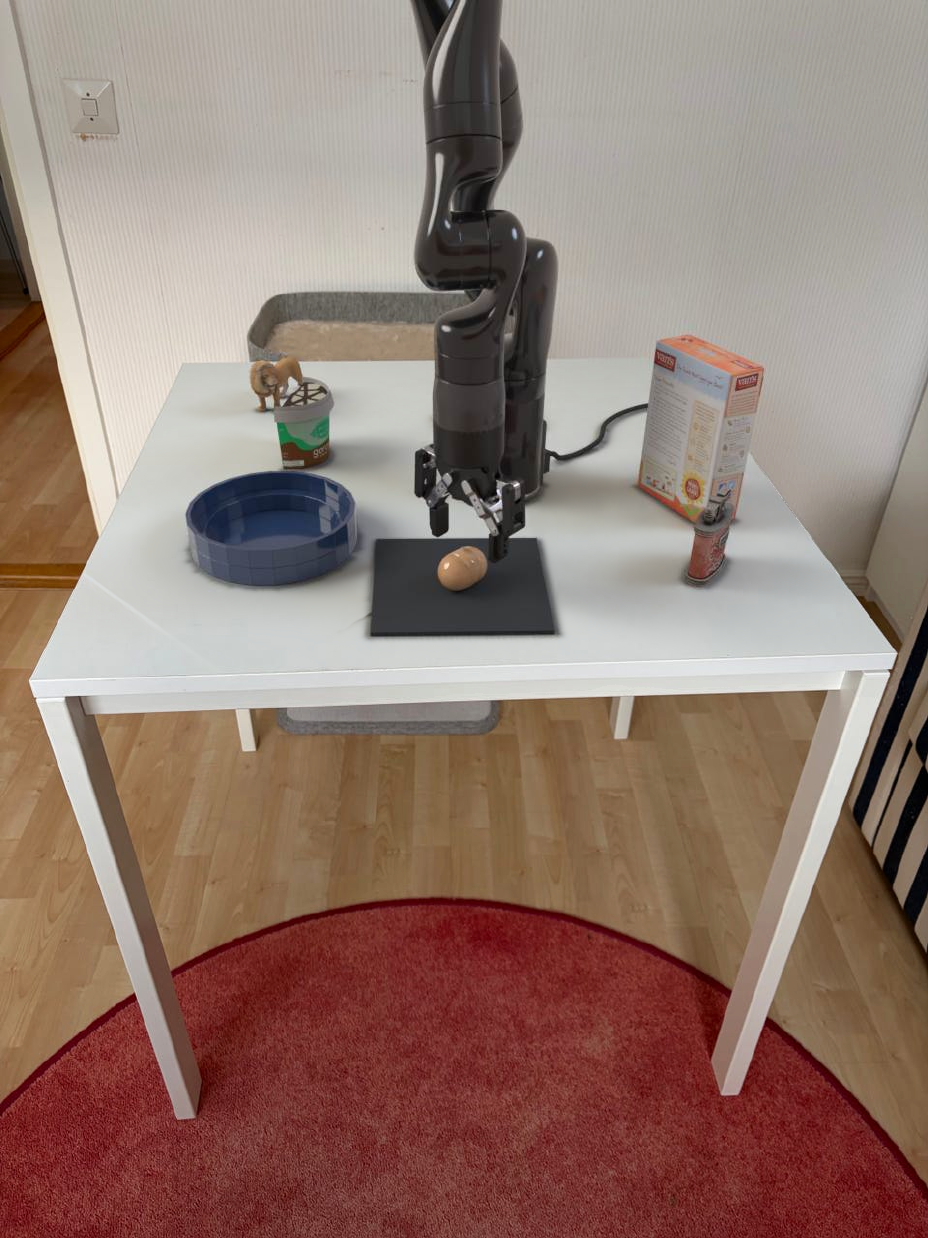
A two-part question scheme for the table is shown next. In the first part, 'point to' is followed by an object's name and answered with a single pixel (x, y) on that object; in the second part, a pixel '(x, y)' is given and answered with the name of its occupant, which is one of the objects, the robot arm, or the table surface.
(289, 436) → the food container
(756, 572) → the table surface
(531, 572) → the mat
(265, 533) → the basin
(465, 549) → the bread roll
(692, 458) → the cracker box
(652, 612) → the table surface
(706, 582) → the lighter
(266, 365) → the lion figurine
